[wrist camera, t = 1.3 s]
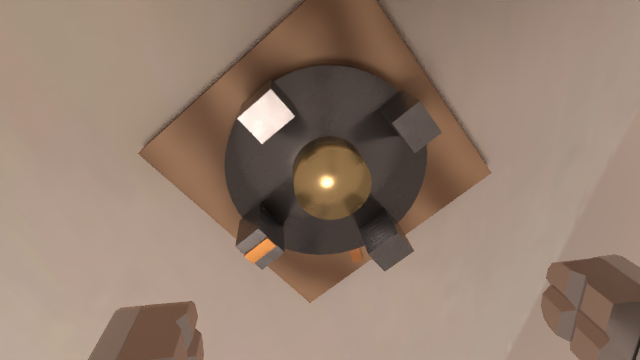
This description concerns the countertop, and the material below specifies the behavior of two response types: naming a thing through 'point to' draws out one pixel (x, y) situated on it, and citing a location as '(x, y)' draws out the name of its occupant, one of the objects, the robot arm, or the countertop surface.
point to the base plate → (286, 55)
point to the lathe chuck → (327, 164)
